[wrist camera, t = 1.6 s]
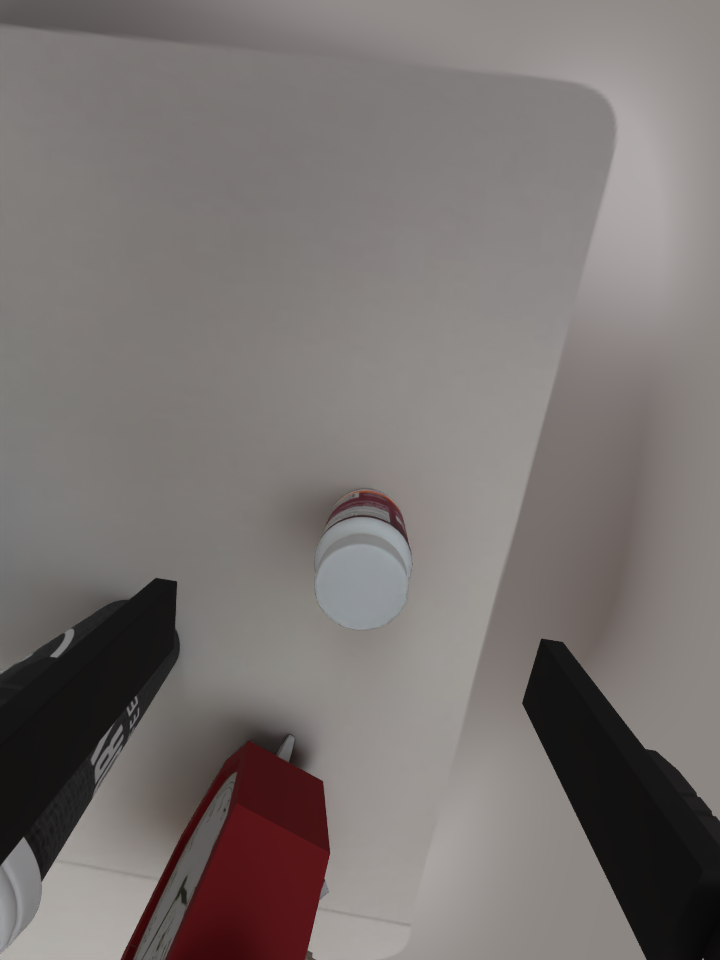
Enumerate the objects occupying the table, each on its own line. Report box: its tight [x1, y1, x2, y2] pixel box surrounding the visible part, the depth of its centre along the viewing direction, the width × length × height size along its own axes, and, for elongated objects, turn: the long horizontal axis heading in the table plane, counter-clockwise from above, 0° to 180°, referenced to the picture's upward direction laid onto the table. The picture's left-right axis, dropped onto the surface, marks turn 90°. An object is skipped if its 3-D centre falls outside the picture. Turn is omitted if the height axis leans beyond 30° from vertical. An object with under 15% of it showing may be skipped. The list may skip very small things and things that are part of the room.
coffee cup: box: [0, 600, 179, 954], centre depth 19 cm, size 10×10×15 cm
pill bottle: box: [314, 489, 412, 630], centre depth 20 cm, size 5×5×8 cm
